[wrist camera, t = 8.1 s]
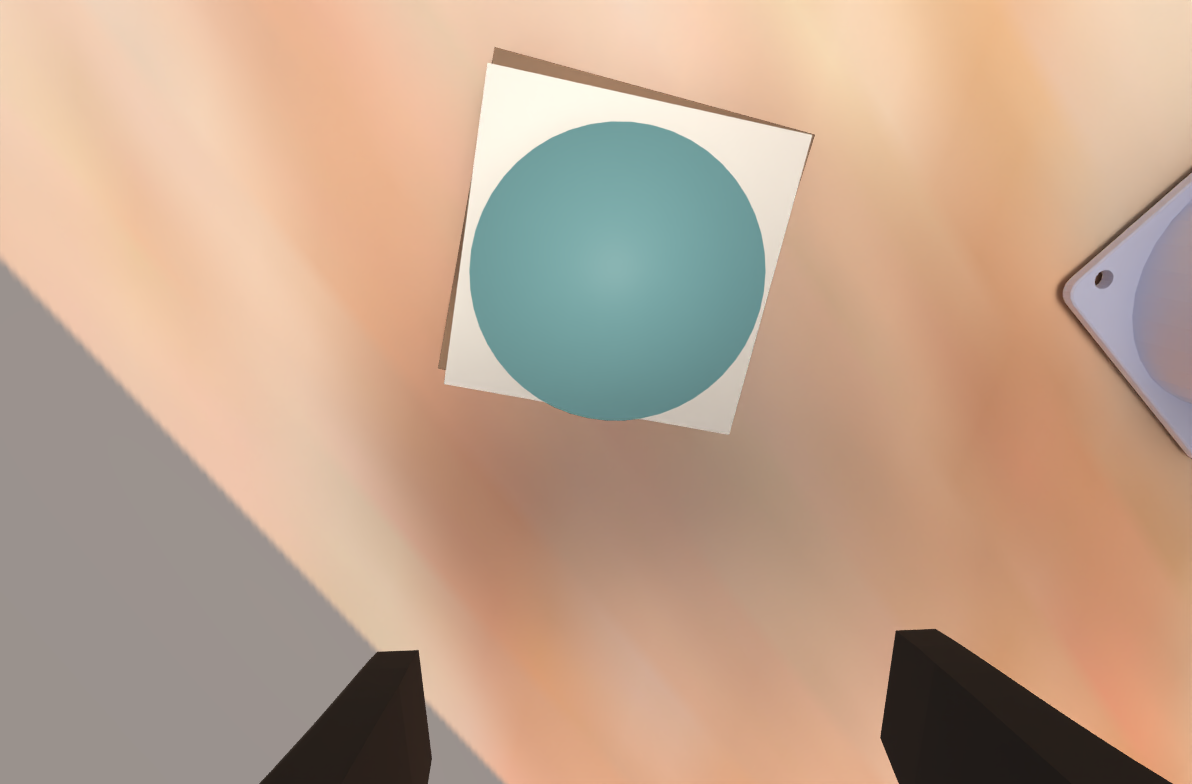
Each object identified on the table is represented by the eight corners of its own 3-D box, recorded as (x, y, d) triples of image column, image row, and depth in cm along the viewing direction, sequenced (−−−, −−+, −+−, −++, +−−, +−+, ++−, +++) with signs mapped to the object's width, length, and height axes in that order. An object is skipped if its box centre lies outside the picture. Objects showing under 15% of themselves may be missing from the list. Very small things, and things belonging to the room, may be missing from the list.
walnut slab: (504, 64, 17) (494, 47, 15) (786, 140, 18) (814, 134, 16) (452, 348, 19) (438, 368, 17) (704, 405, 20) (720, 430, 18)
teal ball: (599, 98, 13) (607, 47, 9) (751, 247, 14) (826, 268, 10) (461, 264, 14) (409, 292, 10) (613, 394, 15) (626, 473, 11)
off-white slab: (499, 80, 15) (487, 62, 13) (780, 142, 16) (812, 134, 14) (459, 360, 17) (444, 383, 15) (711, 406, 18) (729, 434, 16)
